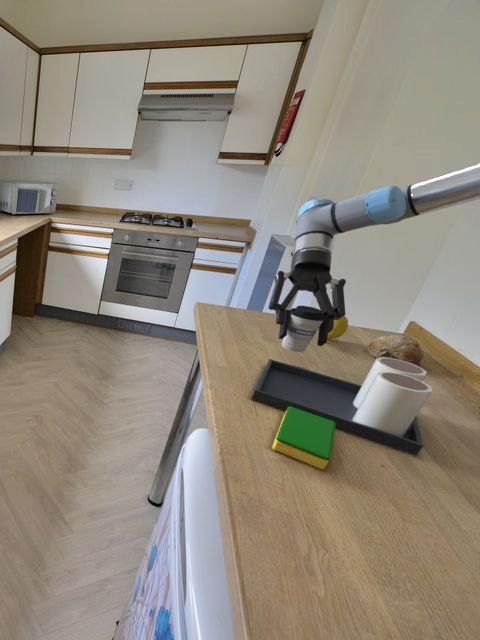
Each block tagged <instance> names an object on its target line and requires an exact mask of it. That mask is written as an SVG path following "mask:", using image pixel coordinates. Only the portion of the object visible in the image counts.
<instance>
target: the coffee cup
mask: <svg viewBox="0 0 480 640" xmlns="http://www.w3.org/2000/svg"><path fill="white" fill-rule="evenodd" d="M289 310H290V314H289V322H288V330H287V335H286V336H285V337H284V338H283V339H282V342H281V346H282V348H284V349H286V350H289V351H291V352H297V353H304V352H305V351H306V349H307V347H309V344H310V343H311V341H312V340H313V338H314V336H315V335H316V333H317V331H319V327H320V325H321V324H322V322H323V321H324V320H325V319H326V318H325V315H323V314H322V311H321V310H320V308H316V307H313V306H308V305H297V306H296V307H292V308H290V309H289Z"/></svg>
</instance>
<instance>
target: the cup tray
mask: <svg viewBox="0 0 480 640" xmlns="http://www.w3.org/2000/svg"><path fill="white" fill-rule="evenodd" d="M265 365H266V366H265V368H264V370H263V372H262V374H261V376H260V378H259V381H258V383H257V385H256V387H255V389H254V392H253V394H252V396H251V400H253V401H255V402H258V403H261V404H265V405H267V406H271V407H274V408H276V409H278V410H282V411H284V412H286V411H287V408H288V407H293V408H296V409H299V410H302V411H305V412H308V413H311V414H313V415H316V416H319V417H322V418H325V419H328V420H331V421H334V422H335V423H336V426H335V429H337V430H340V431H342V432H345V433H348V434H351V435H355V436H357V437H359V438H363V439H366V440H369V441H372V442H374V443H377V444H380V445H383V446H386V447H388V448H392V449H395V450H398V451H401V452H403V453H406V454H409V455H412V456H415V457H417V456H418V455H419V453H420V451H421V450H422V449H423V447H424V444H423V443H424V442H423V439H422V435H421V430H420V425H419V421H418V417H417V416H416V417H415V419H414V420H413V422H412V424H411V425H410V427H409V428H408V430H407V431H406V433H405V435H404V436H403V437H400V436H397V435H394V434H391V433H388V432H385V431H382V430H379V429H375V428H372V427H369V426H366V425H363V424H360V423H357V422H354V421H353V420H352V419H353V417H354V415H355V413H356V411H357V410H358V408H356V407H355V406H354V405H353V401H354V399H355V397H356V395H357V393H358V392H359V390H360V388H361V386H362V384H359V383H358V384H357V383H354V382H351V381H347V380H344V379H341V378H337V377H334V376H330V375H326V374H323V373H319V372H316V371H313V370H309V369H306V368H303V367H299V366H296V365H292V364H288V363H285V362H281V361H278V360H274V359H271V358H269V359H268V361H267V363H266V364H265Z"/></svg>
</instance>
